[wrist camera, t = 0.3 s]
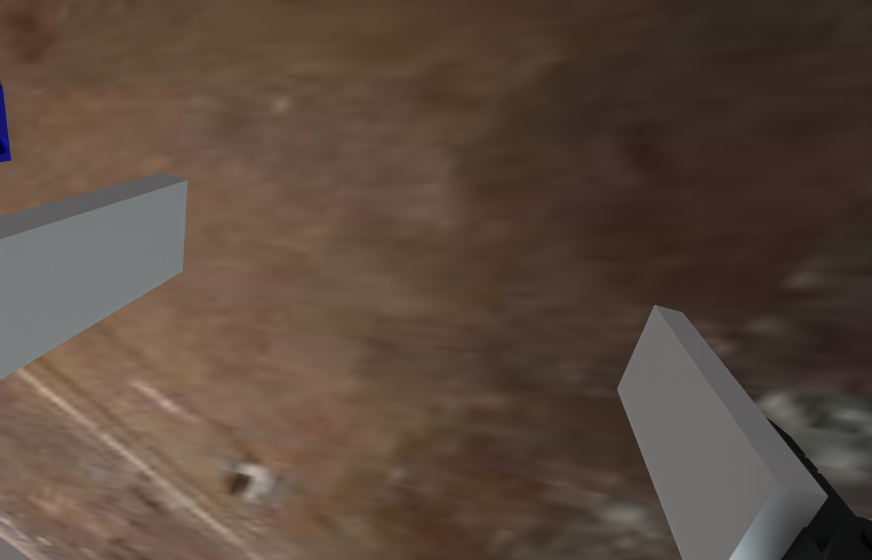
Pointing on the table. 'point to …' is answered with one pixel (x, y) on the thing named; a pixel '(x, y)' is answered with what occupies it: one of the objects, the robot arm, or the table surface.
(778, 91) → the table surface
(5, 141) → the cable clip
